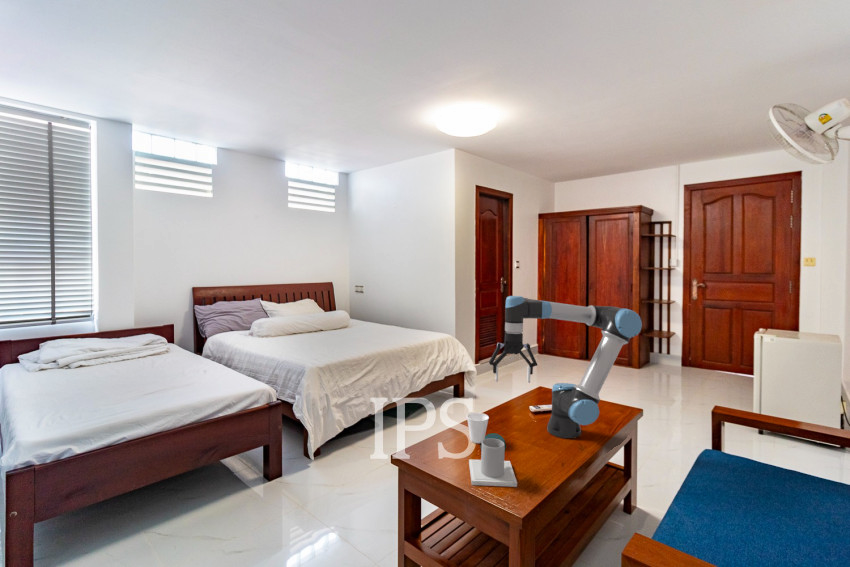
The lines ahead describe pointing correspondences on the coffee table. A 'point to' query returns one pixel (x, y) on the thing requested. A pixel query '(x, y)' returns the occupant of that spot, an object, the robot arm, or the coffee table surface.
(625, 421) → the coffee table surface
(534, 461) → the coffee table surface
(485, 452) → the mug
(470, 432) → the cup
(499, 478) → the plate
